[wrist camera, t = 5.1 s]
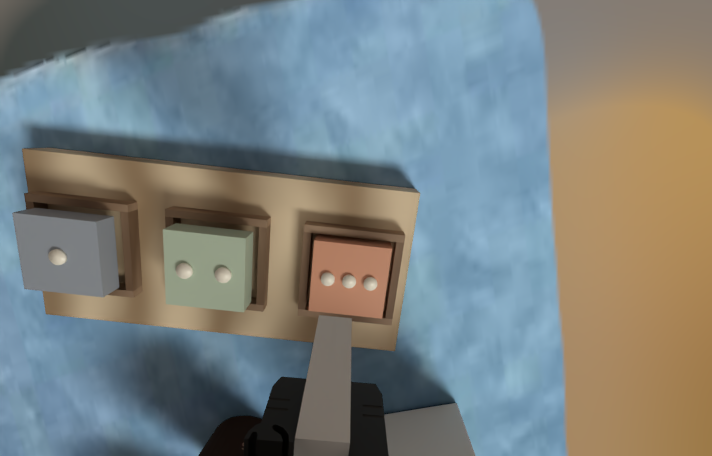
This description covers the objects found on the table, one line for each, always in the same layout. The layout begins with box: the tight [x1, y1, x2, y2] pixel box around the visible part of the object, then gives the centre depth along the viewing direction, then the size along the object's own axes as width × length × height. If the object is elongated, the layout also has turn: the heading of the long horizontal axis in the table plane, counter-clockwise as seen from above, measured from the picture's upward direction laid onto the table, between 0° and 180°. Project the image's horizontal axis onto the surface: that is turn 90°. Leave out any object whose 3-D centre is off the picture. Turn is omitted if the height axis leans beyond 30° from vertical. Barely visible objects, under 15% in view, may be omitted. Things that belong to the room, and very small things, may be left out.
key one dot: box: [12, 208, 119, 297], centre depth 22 cm, size 5×5×2 cm
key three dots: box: [308, 234, 392, 319], centre depth 23 cm, size 5×5×2 cm
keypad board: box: [22, 148, 420, 351], centre depth 24 cm, size 26×12×3 cm, turn 84°
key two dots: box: [163, 223, 253, 312], centre depth 22 cm, size 5×5×2 cm
